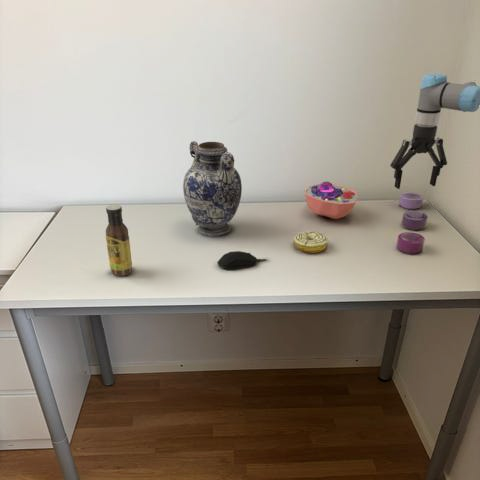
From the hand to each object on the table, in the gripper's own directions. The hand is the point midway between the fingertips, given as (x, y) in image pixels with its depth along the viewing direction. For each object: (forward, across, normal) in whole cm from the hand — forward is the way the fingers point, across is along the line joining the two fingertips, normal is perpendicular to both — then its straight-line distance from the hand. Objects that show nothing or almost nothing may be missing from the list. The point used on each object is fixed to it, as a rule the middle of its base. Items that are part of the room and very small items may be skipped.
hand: (414, 186), depth 184 cm
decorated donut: (+8, +46, +26) cm, 53 cm away
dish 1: (+8, 0, 0) cm, 8 cm away
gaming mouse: (+8, +69, +33) cm, 77 cm away
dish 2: (+8, +16, +33) cm, 37 cm away
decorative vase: (+7, +74, +8) cm, 75 cm away
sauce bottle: (+7, +104, +32) cm, 109 cm away
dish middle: (+8, +7, +17) cm, 20 cm away
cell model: (+8, +32, +3) cm, 33 cm away
